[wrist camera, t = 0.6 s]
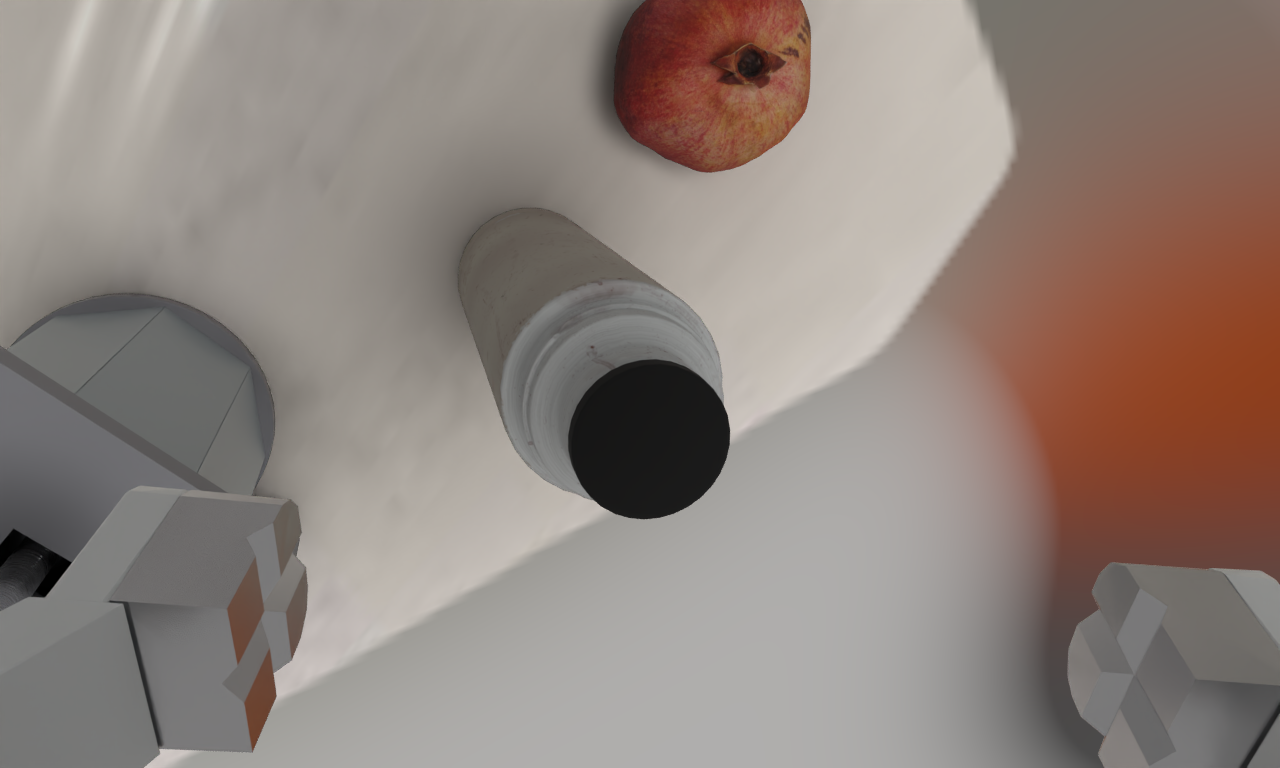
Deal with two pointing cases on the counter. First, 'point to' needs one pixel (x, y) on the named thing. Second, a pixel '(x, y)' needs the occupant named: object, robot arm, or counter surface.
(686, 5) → the fruit
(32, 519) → the press carafe
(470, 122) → the counter surface
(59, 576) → the brown candle holder
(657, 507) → the thermos bottle
